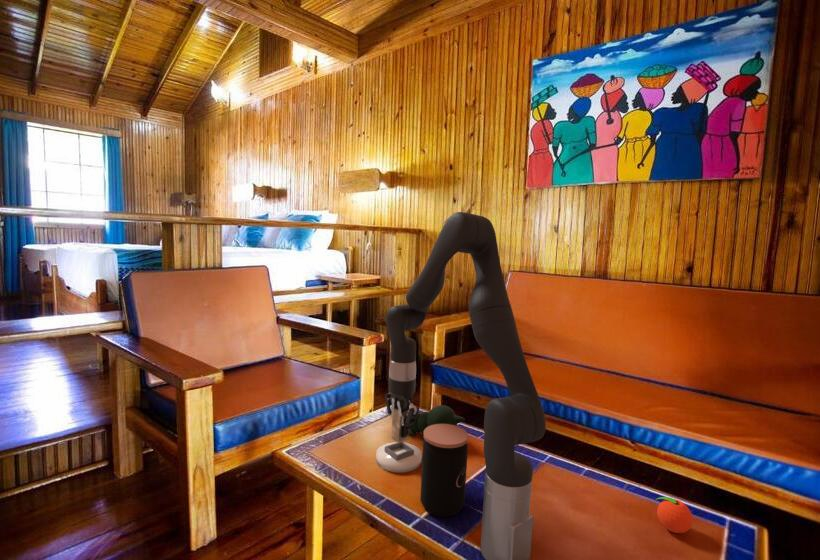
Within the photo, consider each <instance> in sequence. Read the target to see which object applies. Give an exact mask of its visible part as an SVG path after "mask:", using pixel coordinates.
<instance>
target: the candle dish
mask: <svg viewBox="0 0 820 560" xmlns="http://www.w3.org/2000/svg"><path fill="white" fill-rule="evenodd" d="M375 453H376V455H375V457H376V458H375V463H376V464H377V465H378V467H379V468H381V469H383V470H385V471H387V472H391V473H399V474H400V473H403V474H404V473H409V472H412V471H414V470H416V469H418V468H419V467H420V466H422V454H423V451H422V450H421V449H420V448H419V447H418V446H416V445H414V444H411V443H408V442H405V441H404V442H401V443H397V442H396V441H394V442H388V443H384V444H383V445H380V446H379V447H378V448H377V450H376V451H375Z"/></svg>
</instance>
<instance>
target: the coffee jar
mask: <svg viewBox="0 0 820 560" xmlns="http://www.w3.org/2000/svg"><path fill="white" fill-rule="evenodd" d="M468 441H469V434H468V432H467V431H466V430H465V429H464V428H463V427H460V426H455V425H451V424H434V425H430V426H428V427H427V428H426V429H425V430H424V438H423V440H422V462H421V481H420V498H419V501H420V503H421V505H422V507H424V510H425V511H426V512H428V513H429V514H431V515H433V516H436V517H439V518H440V517H443V518H447V517H453V516H455V515H457V514H458V513H460V512H461V510H462V509H463V507H464V505H465V500H466V482H467V467H468V452H469V451H468V450H469V447H468Z"/></svg>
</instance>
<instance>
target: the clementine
mask: <svg viewBox="0 0 820 560" xmlns="http://www.w3.org/2000/svg"><path fill="white" fill-rule="evenodd" d="M658 500H662V501H661V502H659V504H658V506H657V510H656V511H657V513H656V514H657V518H658V520H659V522H660V524H662V526H663V528H665V529H666V530H668V531H669V532H672V533H674V534H684V533H686V532H688V531H689V530H690V529H691V528H692V527H693V524H694V523H693V520H694V517H693V515H692V512H691V510H690V509H689V507H688V506H687V505H686V504H685V503H684V502H683V501H680V500H679V499H676V498H672V497H668V496H667V497H666V496H661V497H658V498H657V497H656V498H655V501H658Z"/></svg>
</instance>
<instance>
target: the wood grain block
mask: <svg viewBox="0 0 820 560" xmlns="http://www.w3.org/2000/svg"><path fill="white" fill-rule="evenodd" d="M407 412H408V411H406V412H403V414H404V413H407ZM406 418H407V416H406V417H405V418H404V419H405V420H406ZM391 421H392V423H391V439H392V440H393V441H394V442H397V443H401V442H404V443H405V442H407V441H409V435H410V433H409V434H408V436H407V437H404V438H402V437H401V417H400V416H399V410H398V409H396V408H395V409H394V410H393V415H392V418H391Z"/></svg>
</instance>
